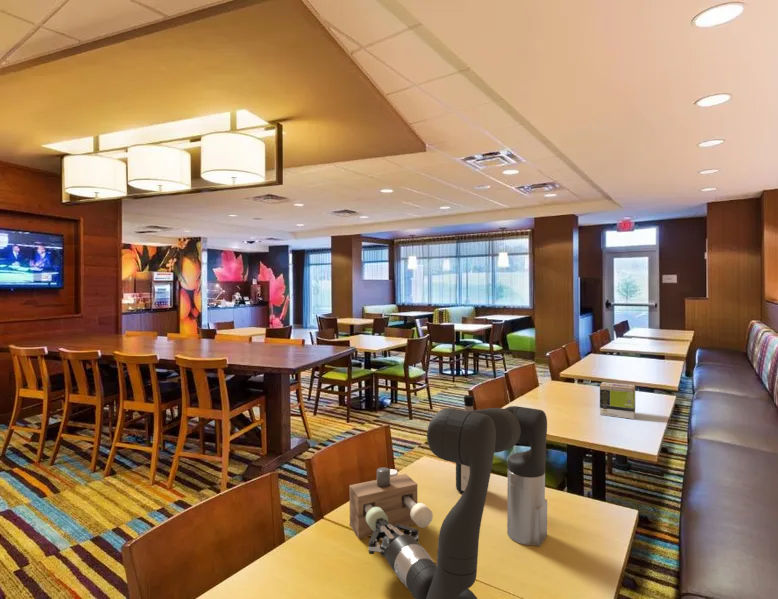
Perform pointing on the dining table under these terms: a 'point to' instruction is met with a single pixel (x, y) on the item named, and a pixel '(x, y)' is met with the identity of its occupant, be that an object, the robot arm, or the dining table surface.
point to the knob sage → (373, 515)
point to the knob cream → (418, 512)
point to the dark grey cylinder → (383, 477)
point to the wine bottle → (461, 470)
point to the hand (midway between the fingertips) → (379, 522)
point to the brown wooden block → (381, 502)
